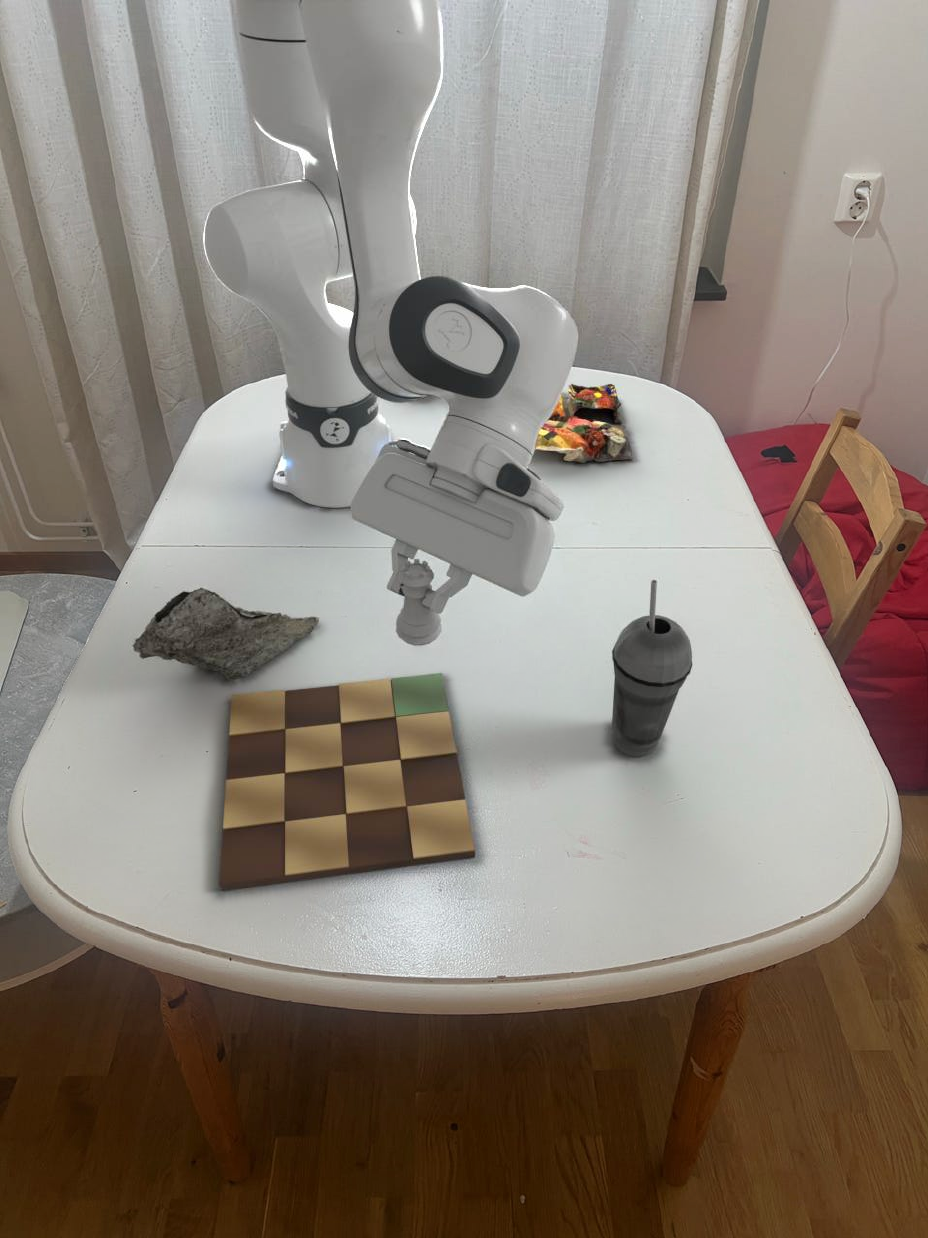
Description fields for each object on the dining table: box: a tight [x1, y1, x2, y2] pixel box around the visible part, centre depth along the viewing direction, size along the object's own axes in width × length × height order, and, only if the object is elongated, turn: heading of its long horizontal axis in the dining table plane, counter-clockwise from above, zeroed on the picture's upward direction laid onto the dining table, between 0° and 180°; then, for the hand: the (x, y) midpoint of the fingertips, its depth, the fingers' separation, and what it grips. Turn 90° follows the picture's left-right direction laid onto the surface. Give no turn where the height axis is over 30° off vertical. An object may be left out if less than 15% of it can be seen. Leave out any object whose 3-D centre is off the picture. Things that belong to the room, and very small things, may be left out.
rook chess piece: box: [395, 558, 443, 647], centre depth 80 cm, size 4×4×8 cm
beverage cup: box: [611, 579, 693, 758], centre depth 79 cm, size 7×7×20 cm
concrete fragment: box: [132, 587, 320, 681], centre depth 90 cm, size 6×19×11 cm, turn 131°
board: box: [218, 672, 476, 891], centre depth 82 cm, size 22×22×1 cm
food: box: [535, 383, 634, 464], centre depth 131 cm, size 22×19×4 cm
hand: (413, 601), depth 79 cm, fingers closed on rook chess piece, 3 cm apart
